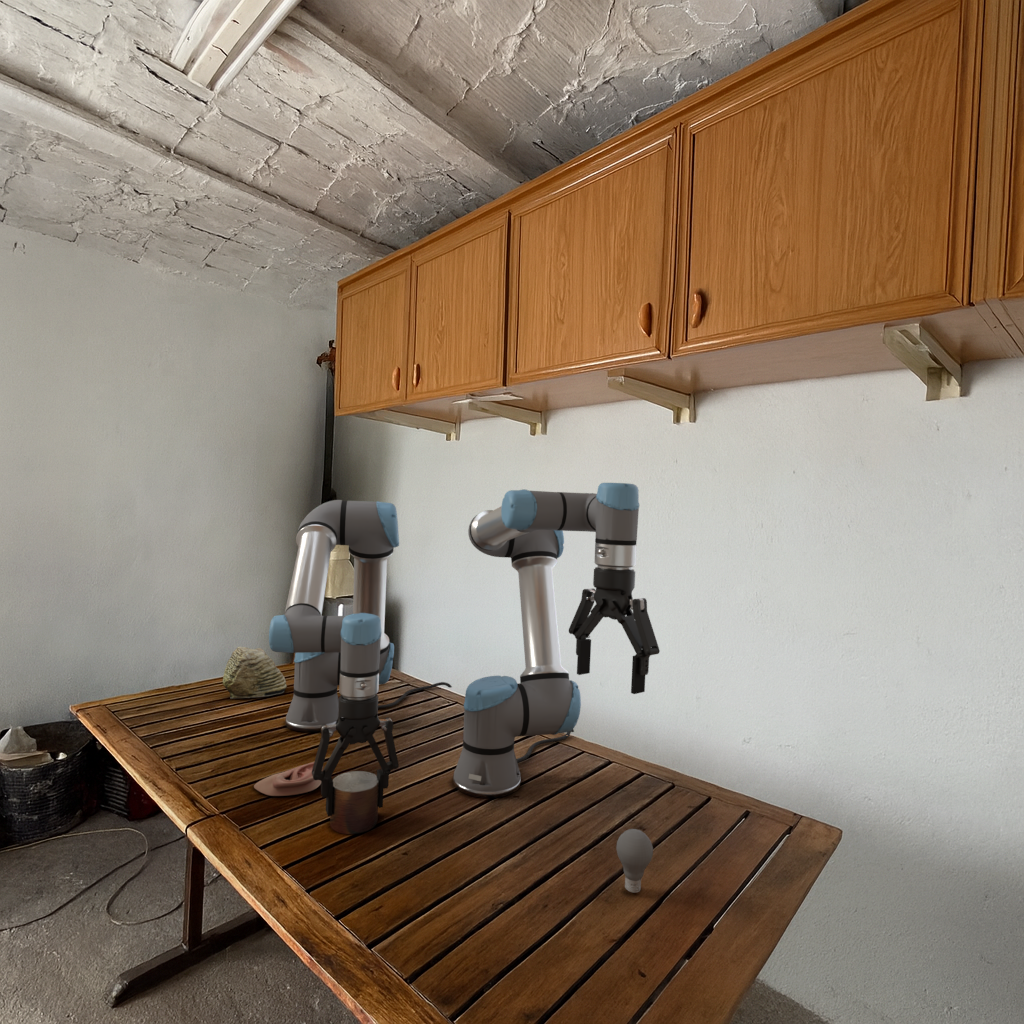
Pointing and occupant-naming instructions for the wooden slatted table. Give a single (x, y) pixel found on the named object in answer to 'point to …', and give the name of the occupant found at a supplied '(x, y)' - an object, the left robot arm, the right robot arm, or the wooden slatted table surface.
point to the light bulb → (634, 857)
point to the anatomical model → (289, 782)
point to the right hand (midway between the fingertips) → (609, 682)
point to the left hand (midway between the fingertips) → (354, 808)
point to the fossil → (252, 674)
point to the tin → (354, 802)
